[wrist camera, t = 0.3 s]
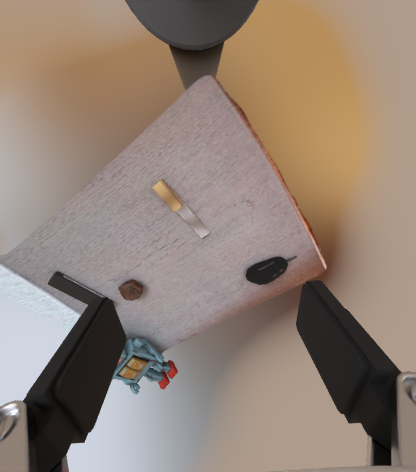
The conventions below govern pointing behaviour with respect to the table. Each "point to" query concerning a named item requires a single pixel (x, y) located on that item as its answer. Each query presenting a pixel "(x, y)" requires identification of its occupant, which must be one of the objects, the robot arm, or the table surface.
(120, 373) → the toy robot
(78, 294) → the dark grey flat bar
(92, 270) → the table surface
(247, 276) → the gaming mouse
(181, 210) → the knife
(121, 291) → the stone
